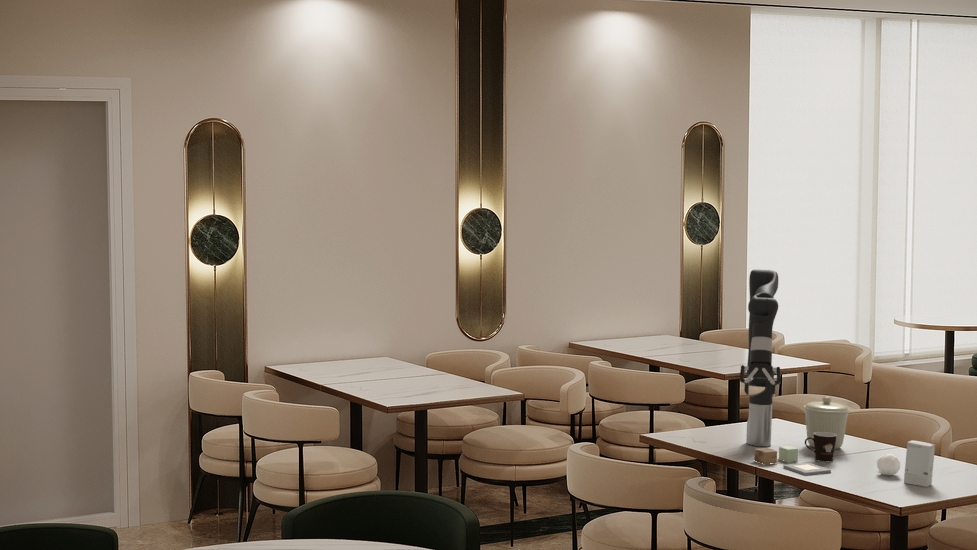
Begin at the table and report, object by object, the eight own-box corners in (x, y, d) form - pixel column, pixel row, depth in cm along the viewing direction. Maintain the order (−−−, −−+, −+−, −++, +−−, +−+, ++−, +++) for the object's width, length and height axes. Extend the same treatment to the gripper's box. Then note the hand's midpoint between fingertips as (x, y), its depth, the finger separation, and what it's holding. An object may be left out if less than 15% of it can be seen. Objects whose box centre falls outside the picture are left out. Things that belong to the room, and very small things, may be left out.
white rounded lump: (878, 467, 367) (864, 464, 379) (896, 481, 367) (881, 477, 379) (890, 450, 368) (876, 447, 379) (908, 464, 368) (893, 460, 380)
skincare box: (903, 483, 360) (905, 441, 359) (909, 480, 365) (910, 439, 364) (928, 487, 355) (930, 445, 354) (933, 484, 359) (935, 443, 358)
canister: (857, 450, 410) (860, 399, 409) (821, 453, 404) (824, 401, 402) (827, 441, 427) (829, 391, 426) (792, 444, 420) (794, 393, 419)
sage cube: (778, 459, 393) (779, 446, 392) (788, 458, 395) (789, 445, 394) (787, 462, 388) (787, 449, 388) (797, 461, 390) (798, 448, 390)
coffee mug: (835, 458, 396) (836, 433, 395) (835, 463, 388) (836, 437, 387) (804, 455, 400) (805, 430, 399) (803, 460, 392) (804, 434, 391)
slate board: (783, 467, 379) (783, 464, 379) (808, 465, 384) (808, 462, 384) (805, 475, 368) (805, 472, 368) (830, 472, 373) (830, 469, 373)
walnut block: (753, 461, 388) (754, 448, 388) (766, 460, 391) (766, 447, 391) (764, 465, 383) (764, 452, 383) (776, 464, 385) (777, 451, 385)
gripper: (782, 354, 368) (780, 398, 364) (742, 352, 373) (740, 395, 369) (781, 349, 362) (779, 394, 357) (740, 347, 367) (738, 392, 362)
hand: (759, 395), depth 363 cm, fingers open, 8 cm apart
